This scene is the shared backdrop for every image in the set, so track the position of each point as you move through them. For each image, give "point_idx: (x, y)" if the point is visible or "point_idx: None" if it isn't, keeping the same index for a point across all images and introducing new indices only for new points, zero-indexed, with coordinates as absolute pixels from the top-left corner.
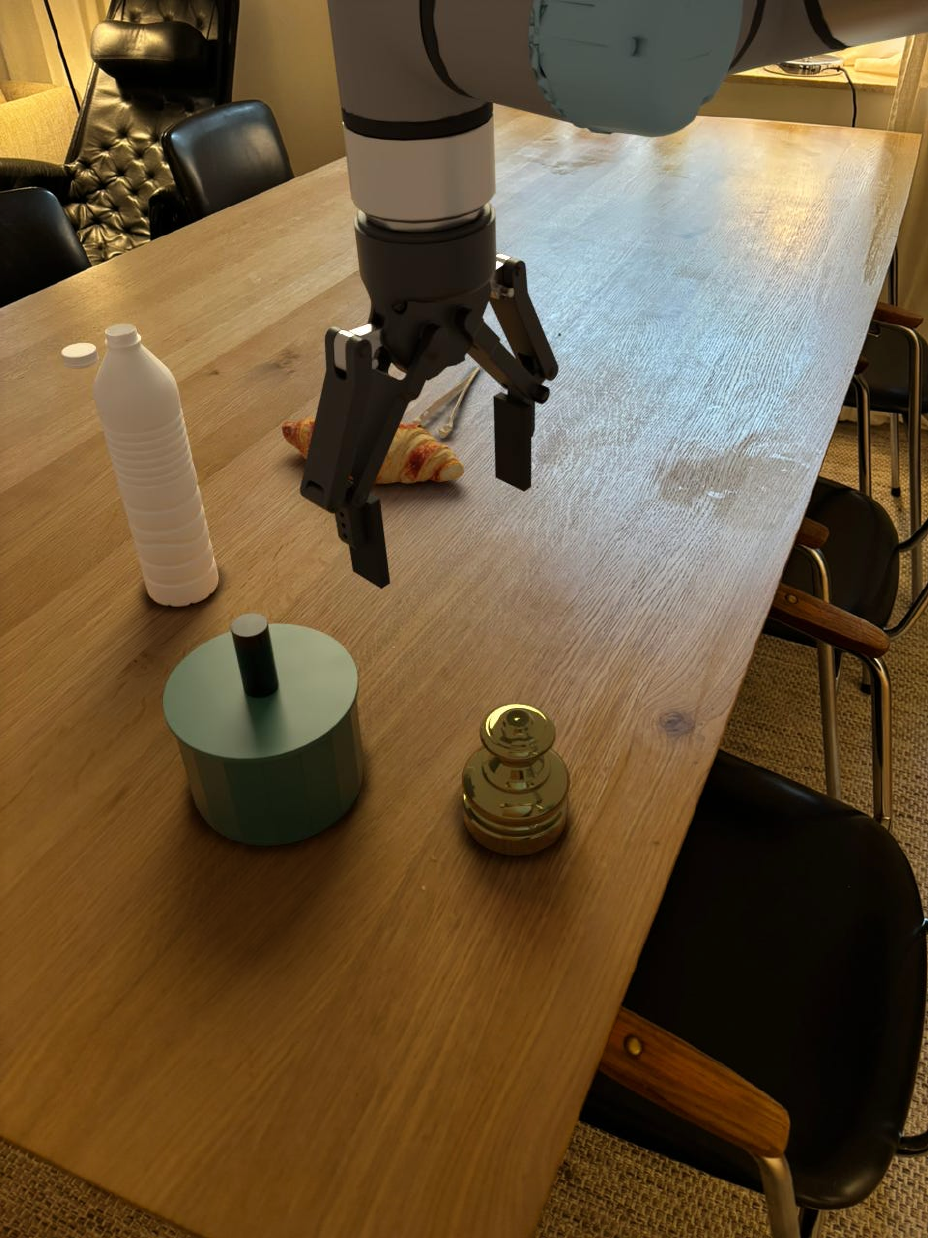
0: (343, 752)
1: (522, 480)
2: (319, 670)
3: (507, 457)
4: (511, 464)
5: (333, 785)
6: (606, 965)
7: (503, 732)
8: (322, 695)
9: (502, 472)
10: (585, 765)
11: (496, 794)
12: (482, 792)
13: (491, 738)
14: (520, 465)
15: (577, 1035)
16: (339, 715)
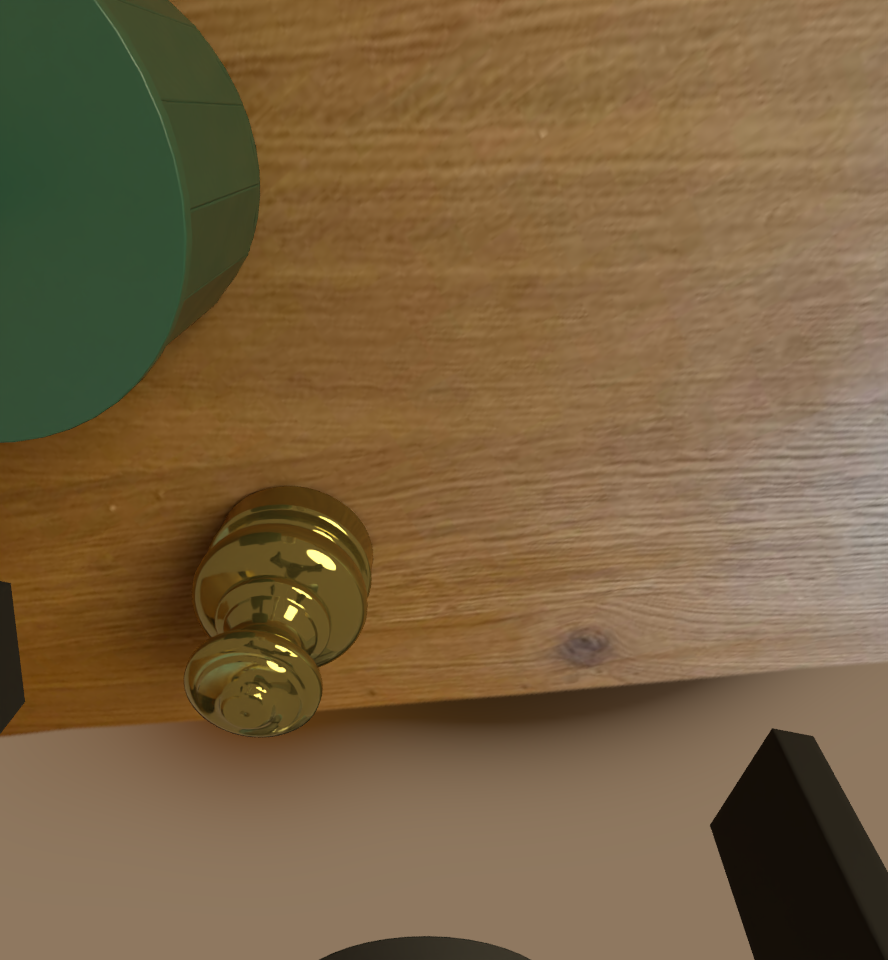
0: None
1: (726, 867)
2: (67, 294)
3: (794, 895)
4: (773, 881)
5: None
6: (187, 707)
7: (213, 694)
8: (13, 360)
9: (769, 792)
10: (442, 585)
11: (211, 618)
12: (204, 597)
13: (196, 677)
14: (758, 926)
15: (99, 714)
16: (5, 432)
